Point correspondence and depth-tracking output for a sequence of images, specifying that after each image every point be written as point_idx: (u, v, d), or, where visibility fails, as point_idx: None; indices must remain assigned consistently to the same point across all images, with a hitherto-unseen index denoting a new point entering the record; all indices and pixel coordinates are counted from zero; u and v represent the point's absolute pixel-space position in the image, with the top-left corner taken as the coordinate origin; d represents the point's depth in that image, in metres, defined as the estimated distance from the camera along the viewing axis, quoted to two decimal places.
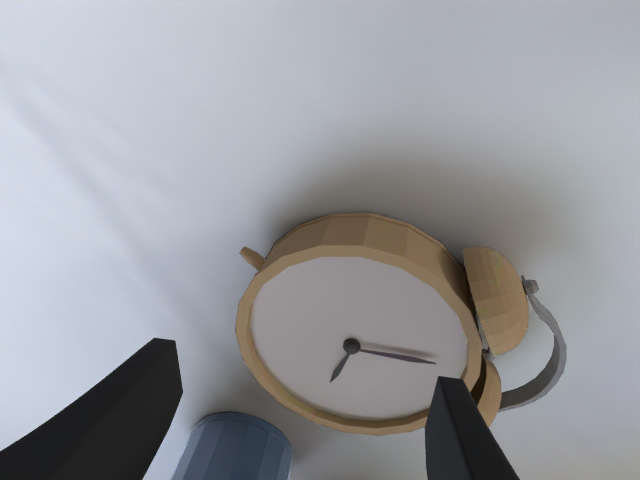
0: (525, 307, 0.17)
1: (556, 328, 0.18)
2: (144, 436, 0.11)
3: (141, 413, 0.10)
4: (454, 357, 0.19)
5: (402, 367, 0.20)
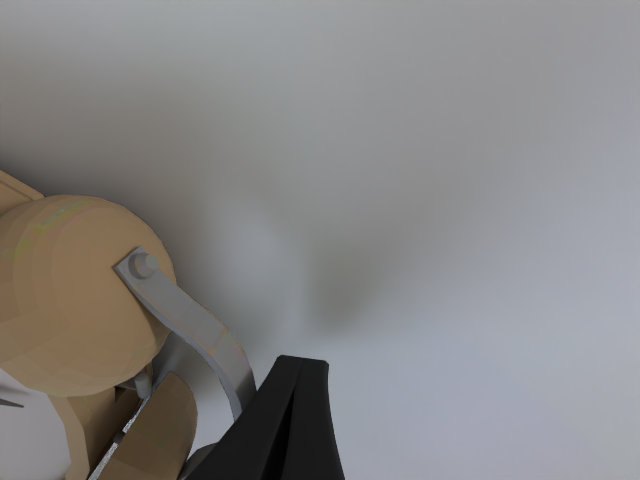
0: (100, 305, 0.09)
1: (199, 344, 0.10)
2: (284, 458, 0.10)
3: (286, 435, 0.10)
4: None
5: None
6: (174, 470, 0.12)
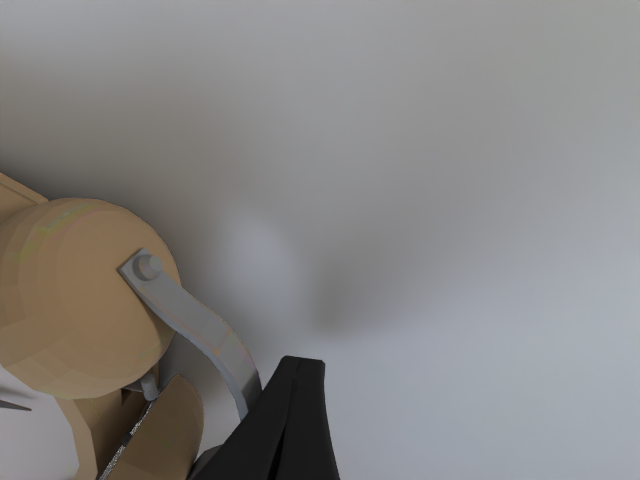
0: (105, 306, 0.09)
1: (204, 345, 0.10)
2: None
3: None
4: None
5: (1, 414, 0.12)
6: (182, 472, 0.12)
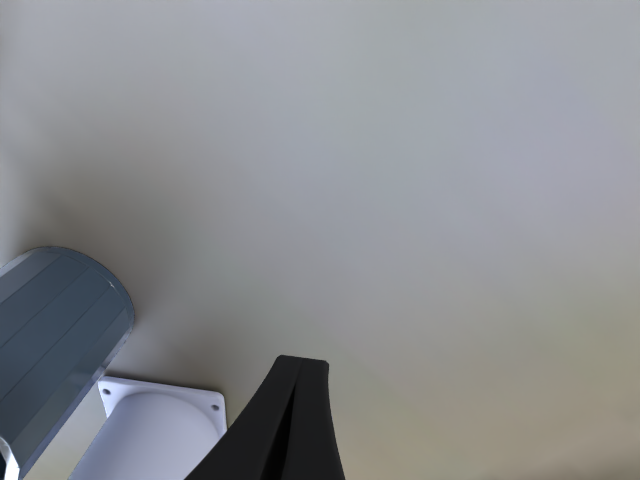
0: None
1: None
2: (284, 458, 0.10)
3: (285, 435, 0.10)
4: None
5: None
6: None
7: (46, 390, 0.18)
